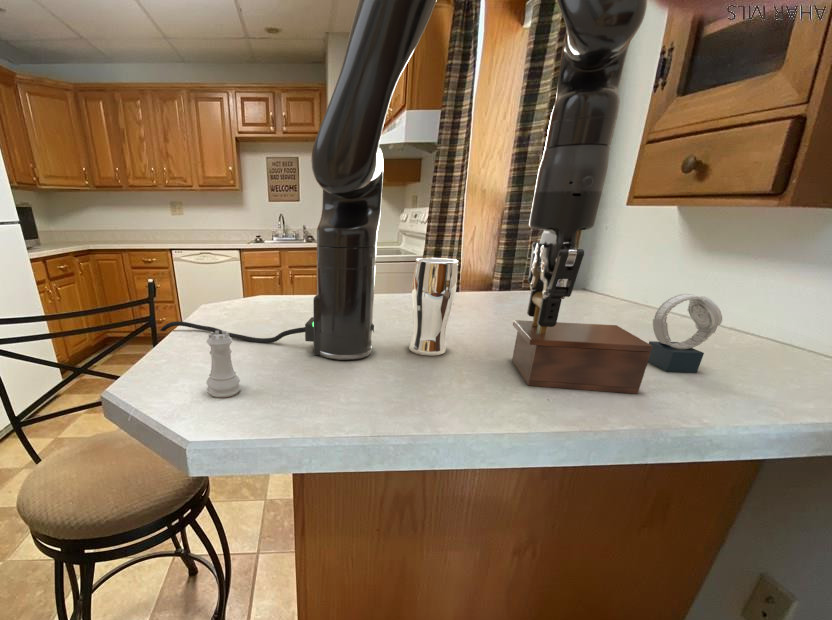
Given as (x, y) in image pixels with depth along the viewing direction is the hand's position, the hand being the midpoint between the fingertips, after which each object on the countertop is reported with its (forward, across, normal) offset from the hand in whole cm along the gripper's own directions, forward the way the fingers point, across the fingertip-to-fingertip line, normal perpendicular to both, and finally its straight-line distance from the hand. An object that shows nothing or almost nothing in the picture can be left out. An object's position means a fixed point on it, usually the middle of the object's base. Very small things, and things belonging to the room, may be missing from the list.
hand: (540, 320), depth 60 cm
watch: (+8, -8, +22) cm, 25 cm away
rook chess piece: (+8, +16, -42) cm, 45 cm away
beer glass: (+8, -8, -15) cm, 19 cm away
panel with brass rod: (+2, 0, +5) cm, 5 cm away
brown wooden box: (+8, 0, +5) cm, 10 cm away
